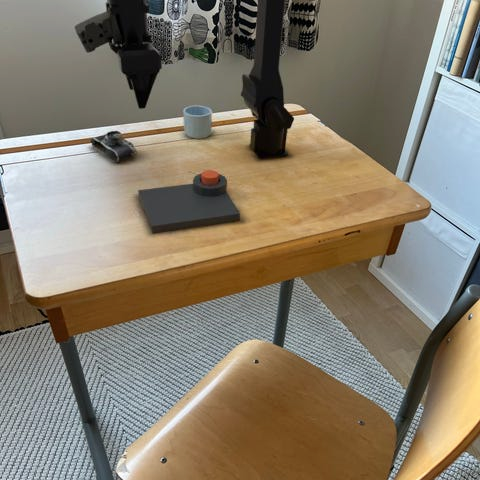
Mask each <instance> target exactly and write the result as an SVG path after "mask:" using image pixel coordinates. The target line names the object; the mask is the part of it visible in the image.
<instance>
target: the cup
mask: <svg viewBox="0 0 480 480" xmlns="http://www.w3.org/2000/svg"><path fill="white" fill-rule="evenodd" d="M182 115H183V116H182V117H183V118H182V119H183V134H185V135H186V136H187V137H188V138H191V139H195V140H196V139H197V140H201V139H202V140H203V139H205V138H209V137H210V135H211V134H212V131H213V111H212V109H211V108H210V107H208V106H204V105H190V106H189V105H188V106H186V107H185V108H183V111H182Z"/></svg>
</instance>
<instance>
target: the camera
mask: <svg viewBox="0 0 480 480" xmlns="http://www.w3.org/2000/svg"><path fill="white" fill-rule="evenodd" d="M90 143H91V146H92V148H93V149H94V150H95V151H97V152H99V154H101V155H103V156H105V157H107V158H108V159H110V160H111V161H112V162H114V163H119V162H121V161H124V160H128V159H132V158H134V157H135V155H136V154H135V153H137V152H138V150H137V148H136V147H134V144H133V143H132V142H131V141H128V140H127V139H126V138H125V137H123V136H122V132H120V131H118V130H110V131H108V132H107V133H105V134H102V135H99V136H96V137H92V138H90Z"/></svg>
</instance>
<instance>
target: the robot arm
mask: <svg viewBox="0 0 480 480" xmlns="http://www.w3.org/2000/svg"><path fill="white" fill-rule="evenodd" d="M285 6H286V0H257V9H256V23H255V39H254V40H255V42H254V55H253V56H254V57H253V65H252V68H251V70H250V72H249V74H245V73H244V74H242V76H241V81H242V90H241V92H240V96H241V97H242V99H243V102H244V104H245V106H246V107H247V108H248V109H249V110H250V112H251V116H252V117H255V119H254V120H253V127H252V128H251V129H250V140H249V141H250V143H249V148H250V149H251V151H252V152H253V153H254V154H255V155H256V157H257V158H258V159H260V160H263V159H264V160H265V159H272V158H273V159H274V158H281V157H288V156H289V152H288V151H287V150H286V147H287V146H286V145H287V137H288V130H290V129H292V126H293V123H294V121H295V117H294V116H293V115H292V114H291V113H290V111H288V109H287V108H286V107H285V92H284V91H285V90H284V85H283V81H282V78H281V76H282V75H281V73H280V60H281V48H282V39H283V30H284V29H283V28H284V17H285V8H286V7H285ZM105 10H106V11H104V12H102V13H99V14H96V15H93V16H92V17H90V18H87V19H85V20H83V21H81V22H79V23H77V24H75V26H74V30H75V33H76V35H77V37H78V39H79V41H80V43H81V46H82V47H83V49H84V50H85V51H84V52H85V53H87V54H88V53H92V52H94V51H96V49H98V48H100V47H102V46H104V45H106V44H108V46H109V48H110V49H111V51H112V52H114V53H115V55H117V61H118V66H119V69H120V72H121V74H122V75H124V76H125V79H126V82H127V86H128V88H129V90H130V91H133V93H134V97H135V100H136V101H135V102H136V103H137V107H138V109H140V110H143V109H146V107H147V104H148V102H149V98H150V95H151V93H152V90H153V88H154V85H155V82H156V79H157V78H158V77H157V76H158V74H159V73H160V71H161V70H162V69H163V67H162V55H161V54H160V52H159V51H158V49H157V48H156V47H154V46H153V44H151V42H152V34H151V33H150V32H149V24H148V23H149V21H148V14H149V13H150V7H149V4H148V3H147V0H106V2H105Z"/></svg>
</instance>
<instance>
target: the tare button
mask: <svg viewBox="0 0 480 480" xmlns="http://www.w3.org/2000/svg"><path fill="white" fill-rule="evenodd" d="M201 173H202V183H203V184H205V185H216V184H218V180H219V174H220V173H219V172H218V171H216V170H214V169H213V170H212V169H209V170H208V169H207V170H204V171H202V172H201Z"/></svg>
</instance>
